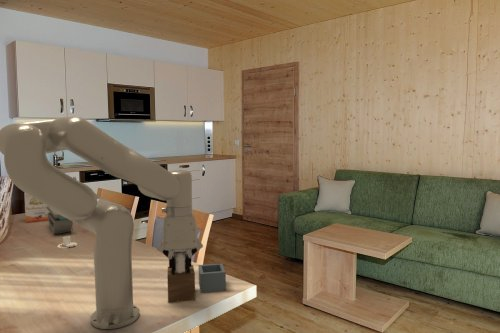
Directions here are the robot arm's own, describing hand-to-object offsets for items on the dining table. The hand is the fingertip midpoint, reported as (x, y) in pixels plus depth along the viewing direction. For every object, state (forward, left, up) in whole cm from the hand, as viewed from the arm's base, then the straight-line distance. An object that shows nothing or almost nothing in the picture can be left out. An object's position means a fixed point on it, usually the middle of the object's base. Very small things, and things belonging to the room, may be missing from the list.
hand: (180, 269), depth 117 cm
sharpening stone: (+90, +58, -9) cm, 107 cm away
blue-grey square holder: (+5, -10, -8) cm, 14 cm away
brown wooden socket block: (0, 0, -8) cm, 8 cm away
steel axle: (0, 0, -8) cm, 8 cm away
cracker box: (+115, +75, -9) cm, 137 cm away
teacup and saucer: (+59, +49, -9) cm, 77 cm away
